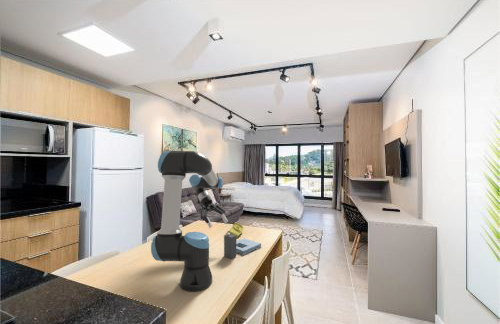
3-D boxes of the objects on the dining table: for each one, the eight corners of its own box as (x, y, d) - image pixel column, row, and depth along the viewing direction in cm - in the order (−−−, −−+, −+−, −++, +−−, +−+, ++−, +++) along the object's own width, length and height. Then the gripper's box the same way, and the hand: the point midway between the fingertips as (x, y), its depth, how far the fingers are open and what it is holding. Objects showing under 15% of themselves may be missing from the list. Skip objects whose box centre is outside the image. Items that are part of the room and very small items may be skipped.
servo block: (231, 258, 132) (231, 235, 133) (224, 255, 137) (224, 233, 137) (236, 256, 136) (236, 234, 136) (229, 253, 140) (229, 232, 140)
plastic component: (238, 236, 168) (227, 229, 170) (234, 244, 169) (223, 237, 171) (244, 227, 187) (234, 221, 189) (241, 234, 189) (231, 228, 190)
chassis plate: (243, 255, 138) (243, 251, 138) (226, 248, 149) (226, 244, 149) (261, 247, 152) (261, 243, 152) (244, 241, 162) (244, 238, 162)
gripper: (216, 200, 165) (230, 223, 155) (187, 204, 146) (201, 232, 136) (221, 193, 161) (235, 217, 151) (192, 197, 143) (206, 225, 133)
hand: (219, 224), depth 144 cm, fingers open, 13 cm apart
